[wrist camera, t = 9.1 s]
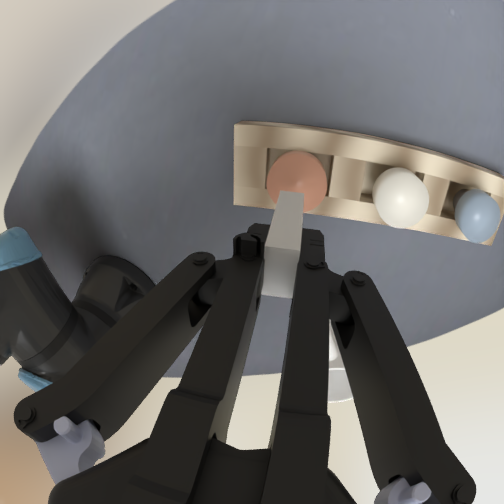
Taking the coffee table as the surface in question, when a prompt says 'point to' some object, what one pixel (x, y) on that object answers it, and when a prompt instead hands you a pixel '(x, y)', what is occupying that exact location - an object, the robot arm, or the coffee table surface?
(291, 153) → the terracotta ball
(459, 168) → the three-ball wooden rack
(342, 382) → the mug
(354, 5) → the coffee table surface
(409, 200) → the cream rounded piece
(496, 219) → the slate ball
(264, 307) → the coffee table surface
